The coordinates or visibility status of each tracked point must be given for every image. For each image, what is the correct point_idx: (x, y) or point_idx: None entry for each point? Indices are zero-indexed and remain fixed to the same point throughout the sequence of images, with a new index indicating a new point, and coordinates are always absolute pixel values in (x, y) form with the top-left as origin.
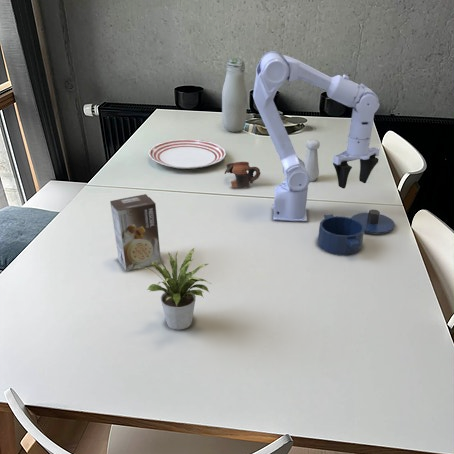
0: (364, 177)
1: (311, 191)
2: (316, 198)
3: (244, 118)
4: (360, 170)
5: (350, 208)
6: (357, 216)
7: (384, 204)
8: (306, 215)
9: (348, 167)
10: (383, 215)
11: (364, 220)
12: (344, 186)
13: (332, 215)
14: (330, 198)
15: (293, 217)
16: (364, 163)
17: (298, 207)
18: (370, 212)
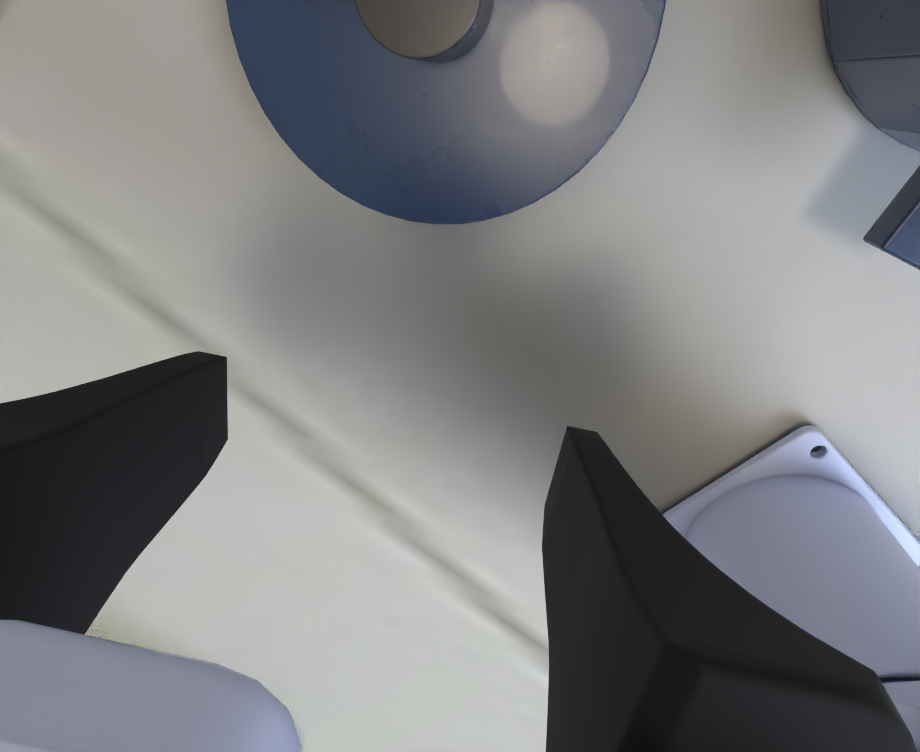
0: (184, 408)
1: (367, 648)
2: (419, 581)
3: None
4: (143, 543)
5: (340, 349)
6: (460, 184)
7: (48, 218)
8: (738, 475)
9: (835, 695)
10: (236, 27)
11: (475, 81)
12: (594, 440)
13: (916, 225)
14: (340, 528)
15: (872, 509)
16: (30, 604)
17: (893, 552)
18: (468, 3)
